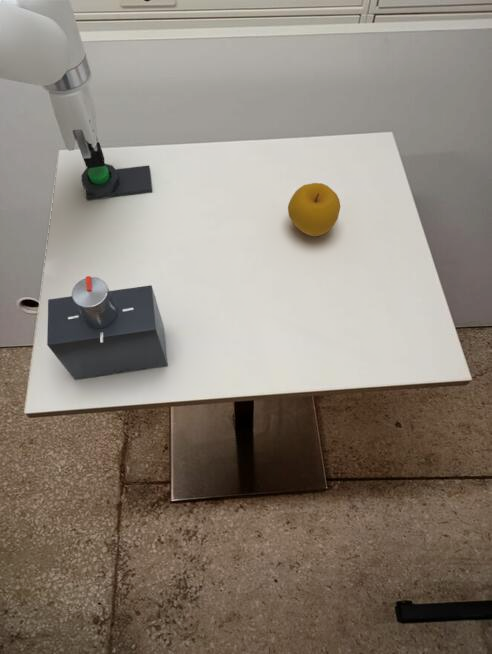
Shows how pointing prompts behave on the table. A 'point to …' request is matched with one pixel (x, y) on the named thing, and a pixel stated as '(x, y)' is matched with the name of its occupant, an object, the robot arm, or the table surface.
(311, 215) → the apple
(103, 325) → the program dial
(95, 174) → the button
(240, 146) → the table surface
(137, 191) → the button block
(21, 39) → the robot arm
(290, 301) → the table surface
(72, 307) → the dial panel
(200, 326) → the table surface
